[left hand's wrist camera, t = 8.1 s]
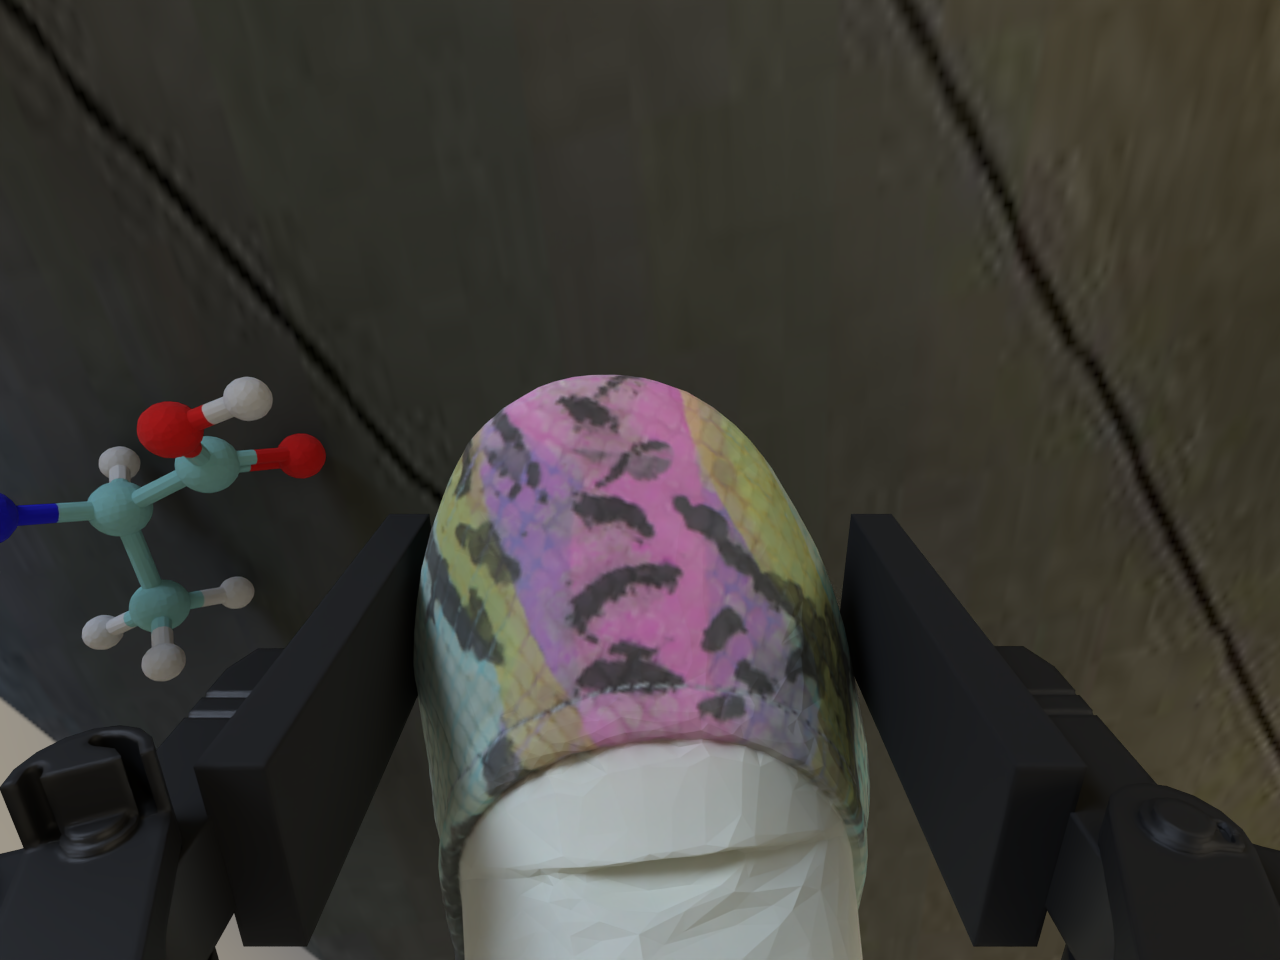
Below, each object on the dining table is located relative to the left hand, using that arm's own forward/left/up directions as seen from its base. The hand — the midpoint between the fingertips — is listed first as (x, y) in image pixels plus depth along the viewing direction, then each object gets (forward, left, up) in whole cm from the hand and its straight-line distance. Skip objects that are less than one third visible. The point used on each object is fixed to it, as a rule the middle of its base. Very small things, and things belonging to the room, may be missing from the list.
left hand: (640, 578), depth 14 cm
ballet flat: (+5, +6, -1) cm, 8 cm away
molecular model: (+14, -10, -13) cm, 21 cm away
